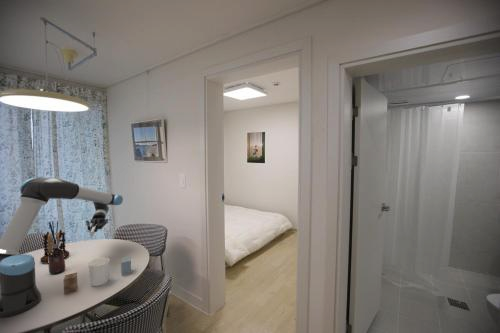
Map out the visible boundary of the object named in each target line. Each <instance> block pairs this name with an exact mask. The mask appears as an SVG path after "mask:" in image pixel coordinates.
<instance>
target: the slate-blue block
mask: <svg viewBox="0 0 500 333" xmlns="http://www.w3.org/2000/svg"><path fill="white" fill-rule="evenodd" d="M131 261H132V260H131V257H125V258H121V259H120V265H121V266H120V270H121V276H125V275H126V276H127V275H130V274H132V262H131Z"/></svg>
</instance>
